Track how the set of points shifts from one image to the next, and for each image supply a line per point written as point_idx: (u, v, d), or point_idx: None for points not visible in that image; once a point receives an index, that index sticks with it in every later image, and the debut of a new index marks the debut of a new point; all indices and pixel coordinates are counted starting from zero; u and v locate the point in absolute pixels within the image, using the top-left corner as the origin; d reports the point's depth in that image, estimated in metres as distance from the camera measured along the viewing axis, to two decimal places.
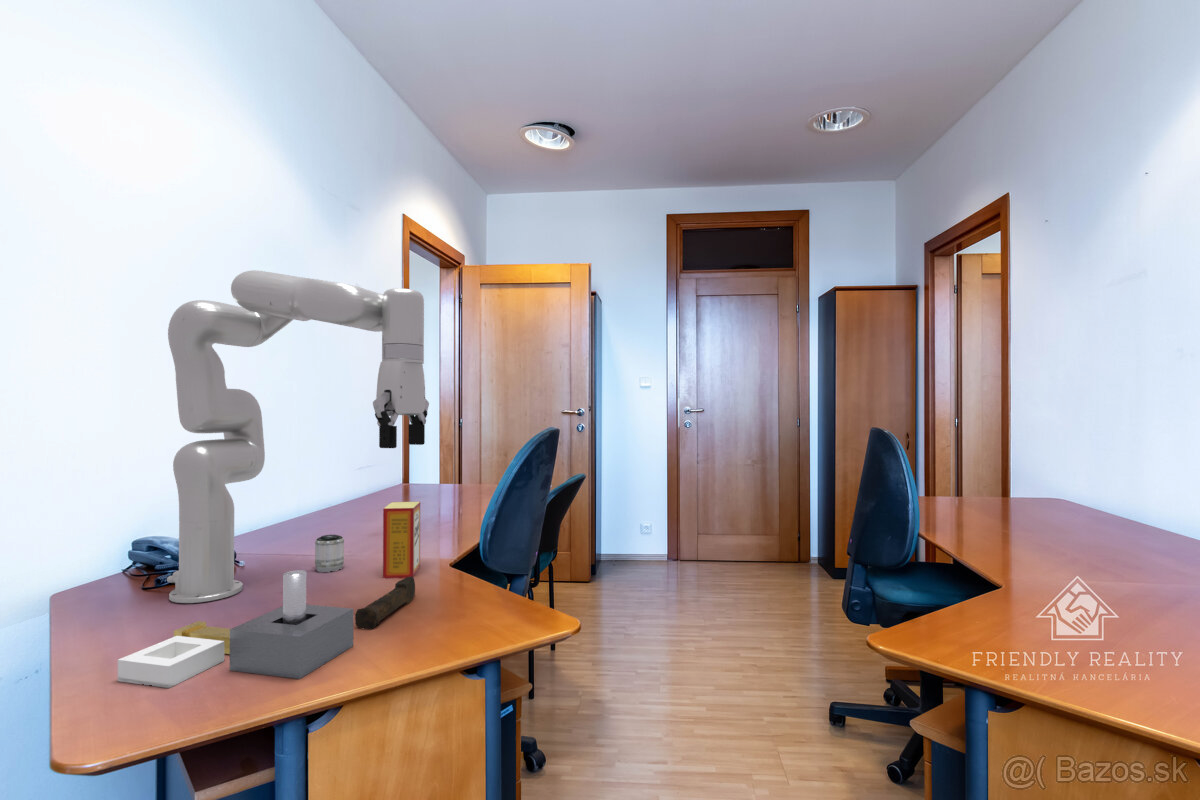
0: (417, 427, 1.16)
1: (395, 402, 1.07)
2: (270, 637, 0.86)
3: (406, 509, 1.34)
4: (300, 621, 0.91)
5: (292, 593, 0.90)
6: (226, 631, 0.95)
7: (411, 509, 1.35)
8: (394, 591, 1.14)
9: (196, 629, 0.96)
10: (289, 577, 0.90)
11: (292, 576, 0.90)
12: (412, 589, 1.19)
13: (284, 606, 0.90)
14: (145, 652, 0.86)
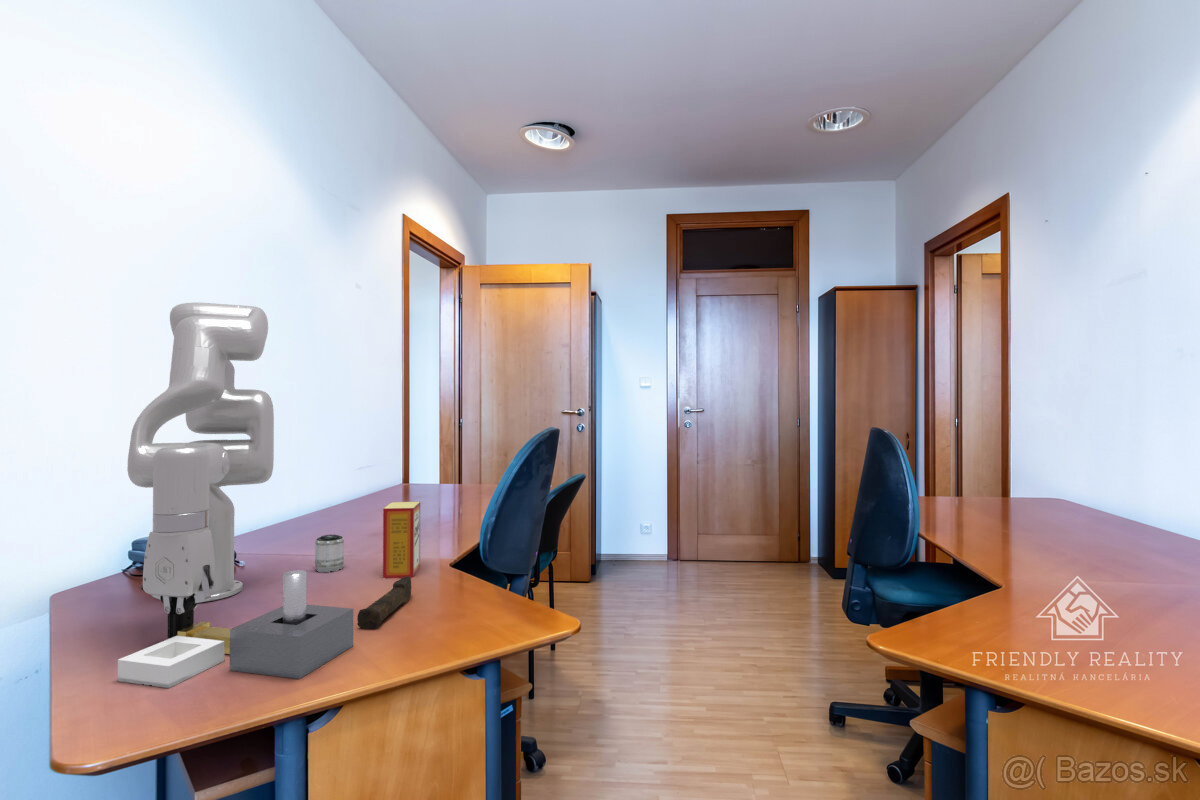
0: None
1: (213, 576, 0.97)
2: (270, 637, 0.86)
3: (406, 509, 1.34)
4: (300, 621, 0.91)
5: (292, 593, 0.90)
6: None
7: (411, 509, 1.35)
8: (393, 591, 1.14)
9: (200, 629, 0.96)
10: (289, 577, 0.90)
11: (292, 576, 0.90)
12: (409, 589, 1.19)
13: (284, 606, 0.90)
14: (145, 652, 0.86)
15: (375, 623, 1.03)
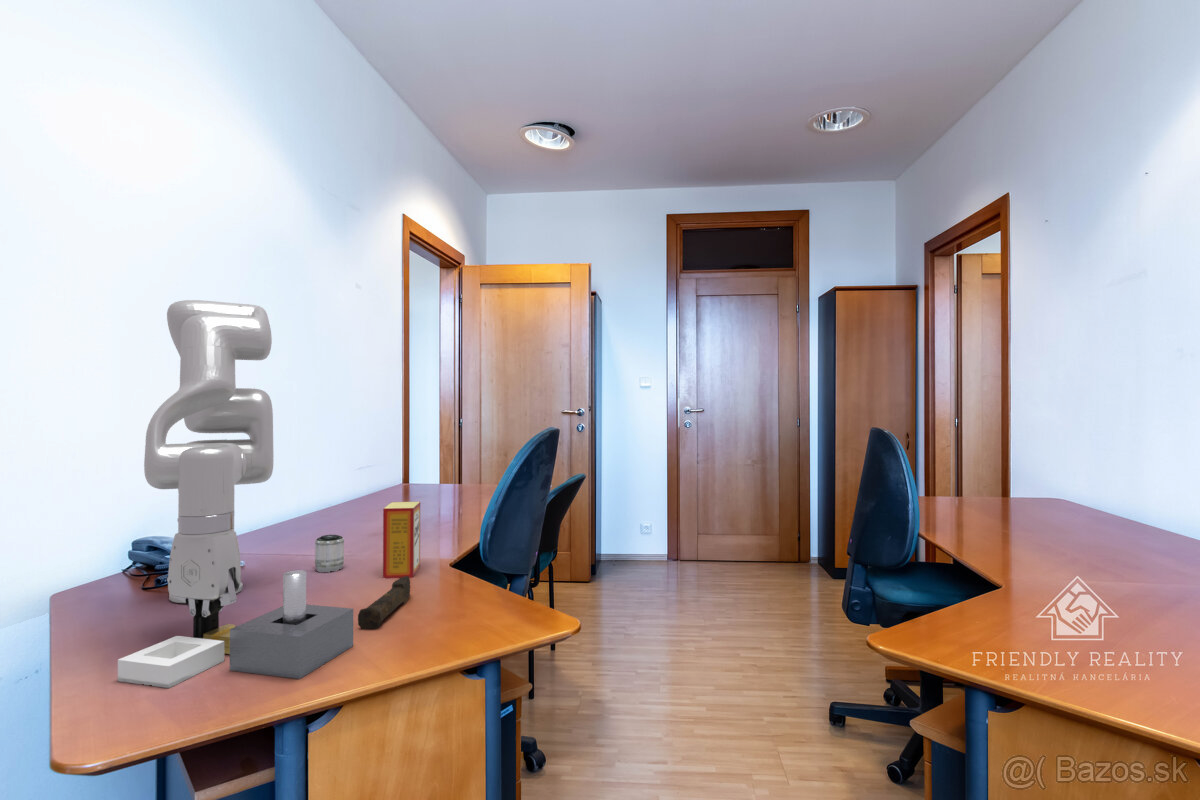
0: None
1: (239, 579, 0.96)
2: (270, 637, 0.86)
3: (406, 509, 1.34)
4: (300, 621, 0.91)
5: (292, 593, 0.90)
6: None
7: (411, 509, 1.35)
8: (392, 591, 1.14)
9: (225, 632, 0.95)
10: (289, 577, 0.90)
11: (292, 576, 0.90)
12: (408, 589, 1.19)
13: (284, 606, 0.90)
14: (145, 652, 0.86)
15: (376, 623, 1.03)
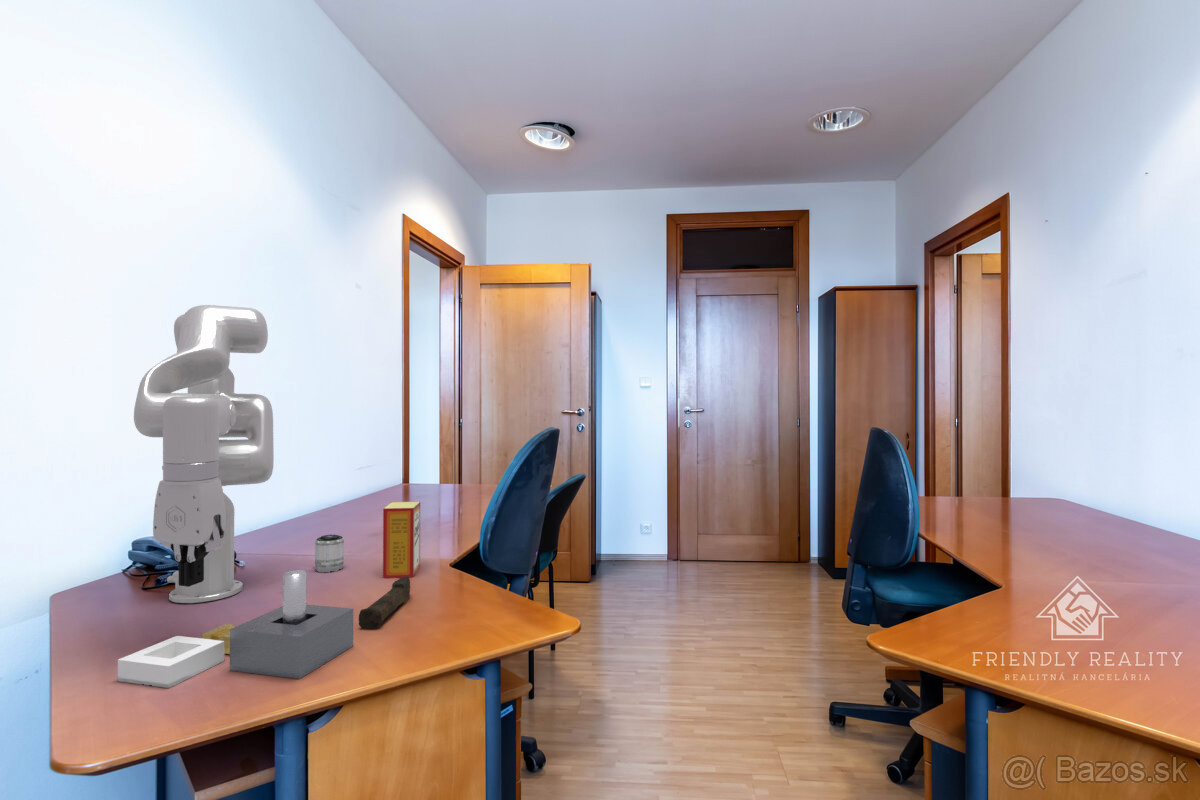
0: None
1: (224, 526, 0.97)
2: (270, 637, 0.86)
3: (406, 509, 1.34)
4: (300, 621, 0.91)
5: (292, 593, 0.90)
6: None
7: (411, 509, 1.35)
8: (393, 591, 1.14)
9: (224, 632, 0.95)
10: (289, 577, 0.90)
11: (292, 576, 0.90)
12: (408, 589, 1.19)
13: (284, 606, 0.90)
14: (145, 652, 0.86)
15: (376, 623, 1.03)
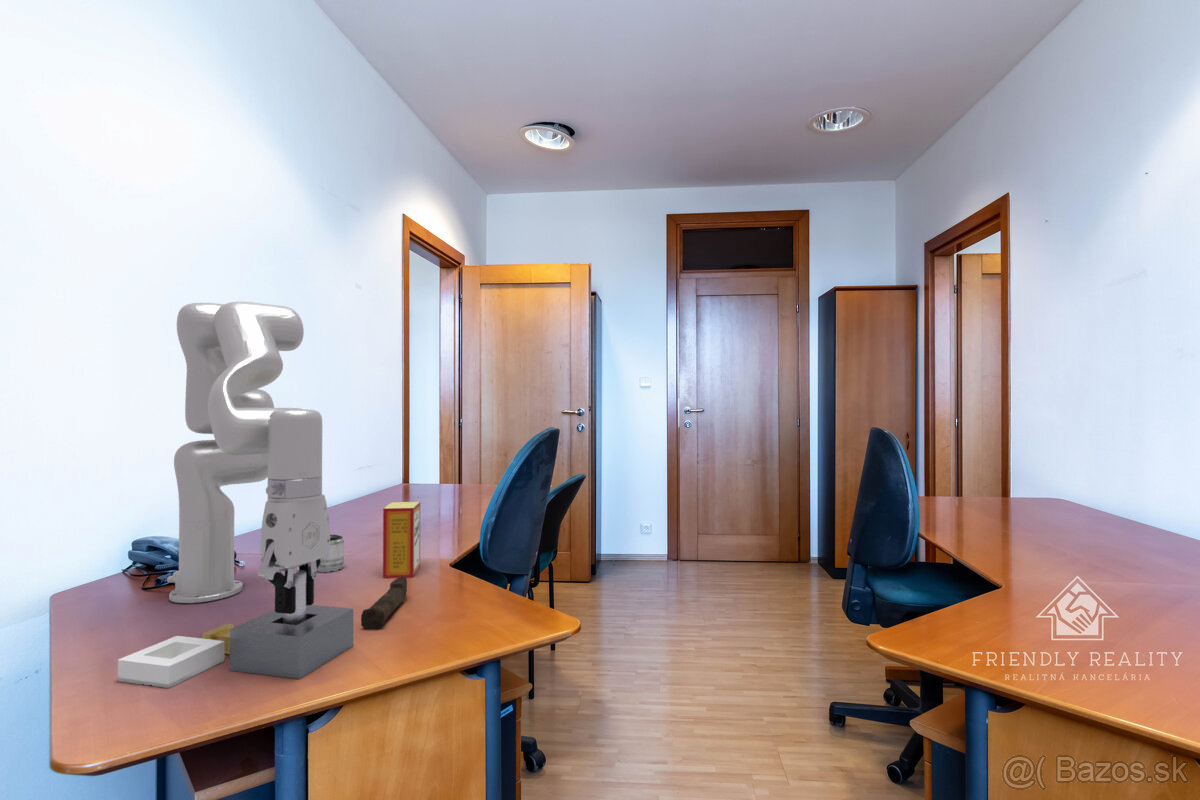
0: None
1: None
2: (270, 637, 0.86)
3: (406, 509, 1.34)
4: (300, 621, 0.91)
5: None
6: None
7: (411, 509, 1.35)
8: (392, 591, 1.14)
9: (224, 632, 0.95)
10: None
11: None
12: (406, 589, 1.19)
13: None
14: (145, 652, 0.86)
15: (380, 623, 1.03)
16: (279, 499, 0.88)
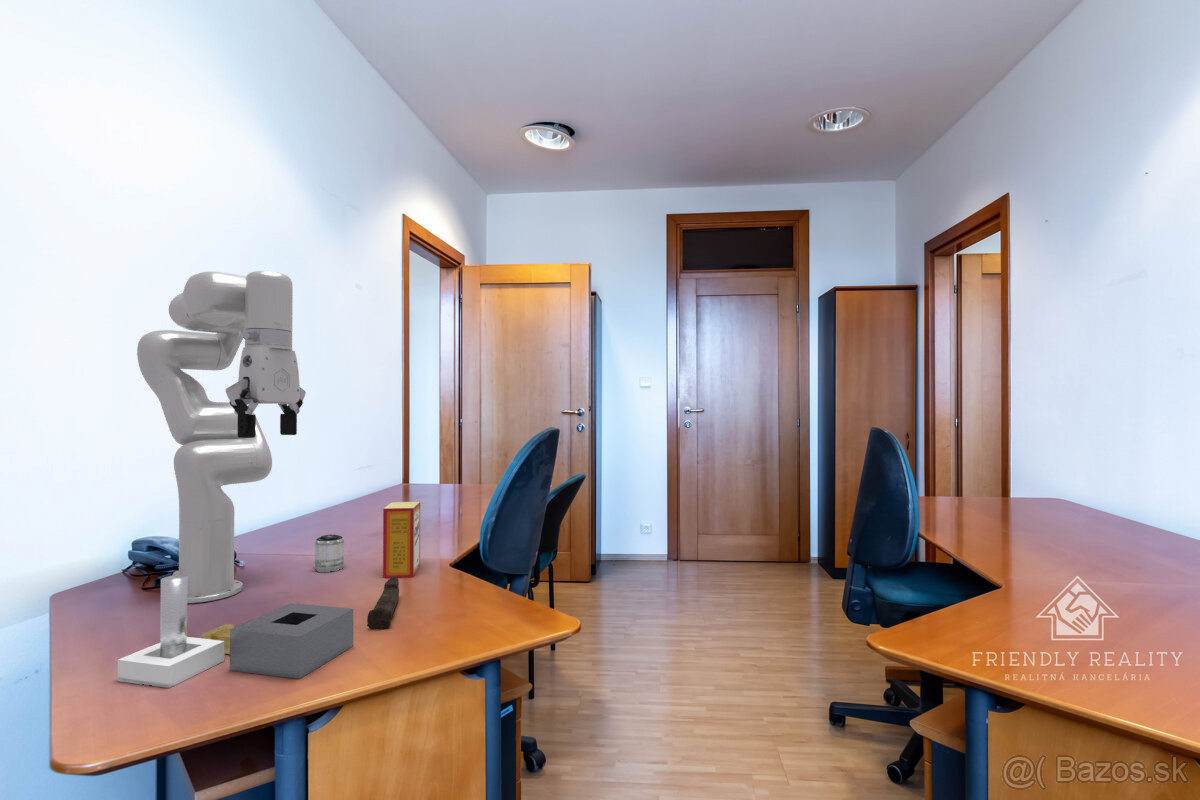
0: None
1: None
2: (270, 637, 0.86)
3: (406, 509, 1.34)
4: (178, 629, 0.86)
5: (169, 599, 0.86)
6: None
7: (411, 509, 1.35)
8: (388, 591, 1.13)
9: (224, 632, 0.95)
10: (166, 582, 0.86)
11: (169, 581, 0.86)
12: None
13: (161, 613, 0.86)
14: (145, 652, 0.86)
15: (387, 622, 1.04)
16: (254, 345, 1.04)
